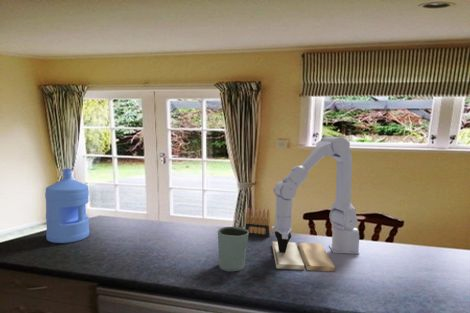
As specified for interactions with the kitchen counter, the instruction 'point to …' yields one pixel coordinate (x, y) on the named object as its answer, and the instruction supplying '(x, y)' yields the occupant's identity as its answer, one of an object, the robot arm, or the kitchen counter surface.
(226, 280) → the kitchen counter surface
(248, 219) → the ammunition clip
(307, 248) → the laid plank
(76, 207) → the water jug
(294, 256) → the plank
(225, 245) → the green cup
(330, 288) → the kitchen counter surface
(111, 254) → the kitchen counter surface
